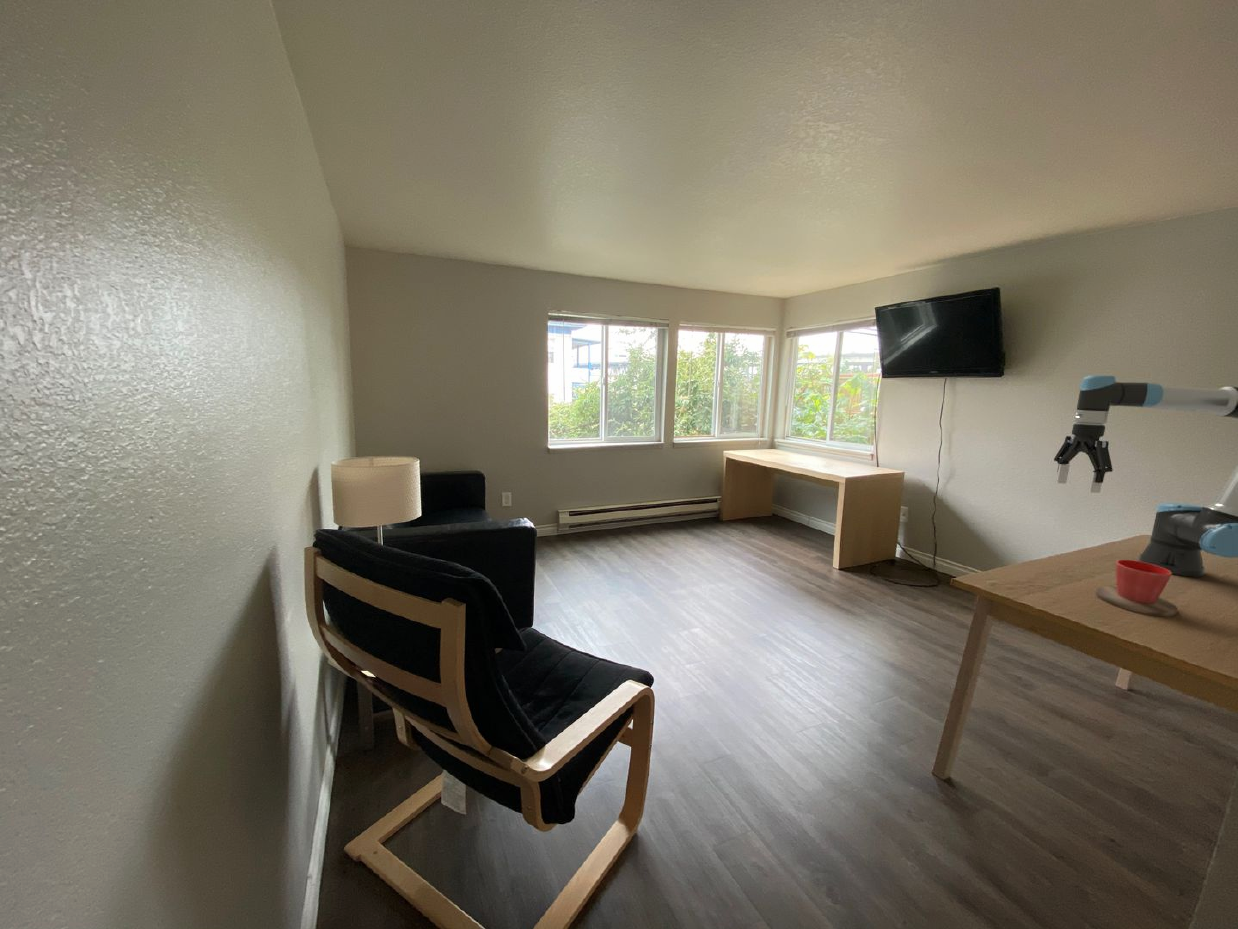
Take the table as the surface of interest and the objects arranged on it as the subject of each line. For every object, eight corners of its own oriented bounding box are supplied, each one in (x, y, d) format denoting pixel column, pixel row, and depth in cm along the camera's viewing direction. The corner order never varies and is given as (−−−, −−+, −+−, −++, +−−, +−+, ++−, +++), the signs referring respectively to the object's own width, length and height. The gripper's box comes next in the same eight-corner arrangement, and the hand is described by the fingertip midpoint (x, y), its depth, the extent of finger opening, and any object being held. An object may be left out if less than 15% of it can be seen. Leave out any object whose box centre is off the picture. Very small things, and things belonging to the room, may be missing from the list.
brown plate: (1139, 593, 146) (1140, 588, 145) (1194, 619, 130) (1195, 613, 130) (1081, 589, 148) (1082, 584, 147) (1128, 614, 132) (1129, 609, 132)
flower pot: (1169, 610, 131) (1177, 577, 130) (1113, 599, 138) (1120, 567, 136) (1158, 596, 140) (1165, 565, 138) (1106, 586, 146) (1112, 556, 144)
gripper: (1048, 420, 167) (1037, 479, 171) (1110, 427, 143) (1095, 495, 146) (1071, 420, 166) (1060, 480, 170) (1138, 428, 142) (1123, 497, 146)
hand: (1076, 487), depth 158 cm, fingers open, 13 cm apart
